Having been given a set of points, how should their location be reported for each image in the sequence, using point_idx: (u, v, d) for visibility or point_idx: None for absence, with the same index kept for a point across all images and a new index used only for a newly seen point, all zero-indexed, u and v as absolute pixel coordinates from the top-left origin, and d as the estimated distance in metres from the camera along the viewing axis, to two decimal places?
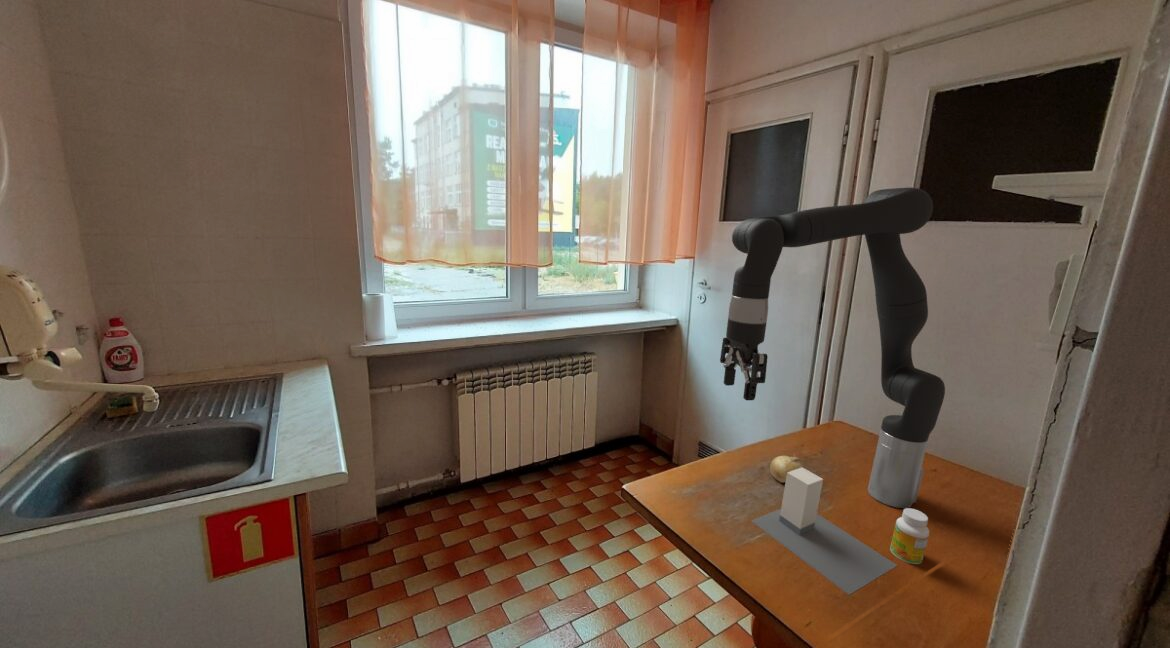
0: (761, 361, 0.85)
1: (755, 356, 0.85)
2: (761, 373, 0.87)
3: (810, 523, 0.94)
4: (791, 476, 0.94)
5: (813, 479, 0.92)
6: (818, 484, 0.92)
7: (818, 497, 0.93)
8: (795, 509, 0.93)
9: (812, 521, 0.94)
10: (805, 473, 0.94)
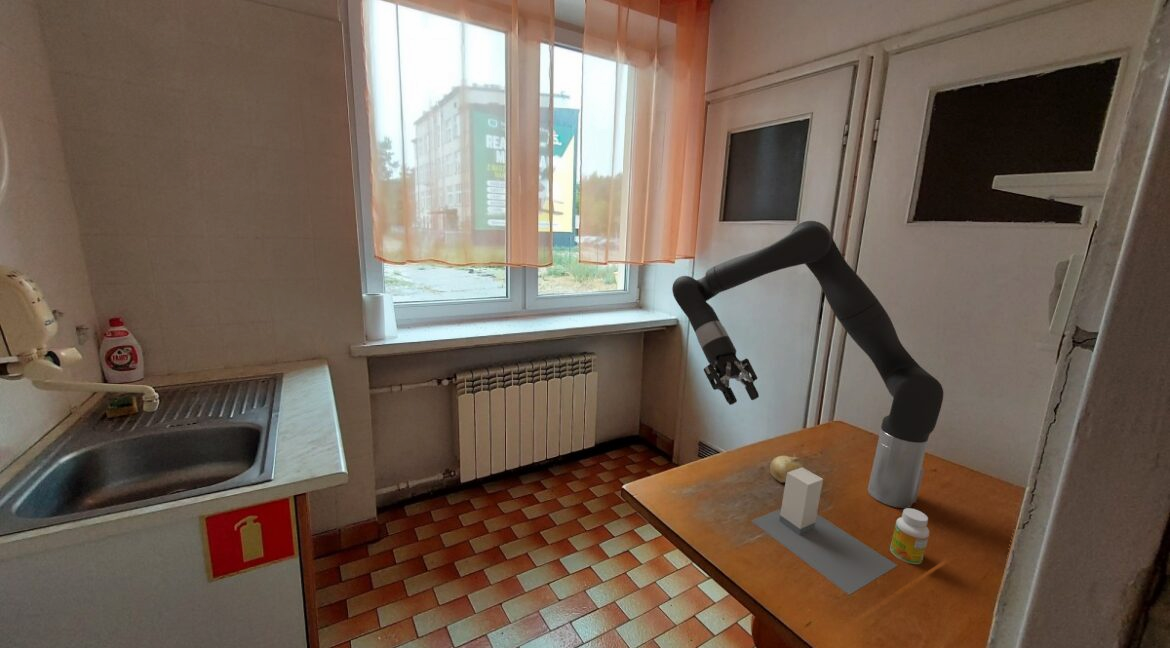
0: (708, 371, 1.07)
1: None
2: None
3: (810, 523, 0.94)
4: (791, 476, 0.94)
5: (813, 479, 0.92)
6: (818, 484, 0.92)
7: (818, 497, 0.93)
8: (795, 509, 0.93)
9: (812, 521, 0.94)
10: (805, 473, 0.94)
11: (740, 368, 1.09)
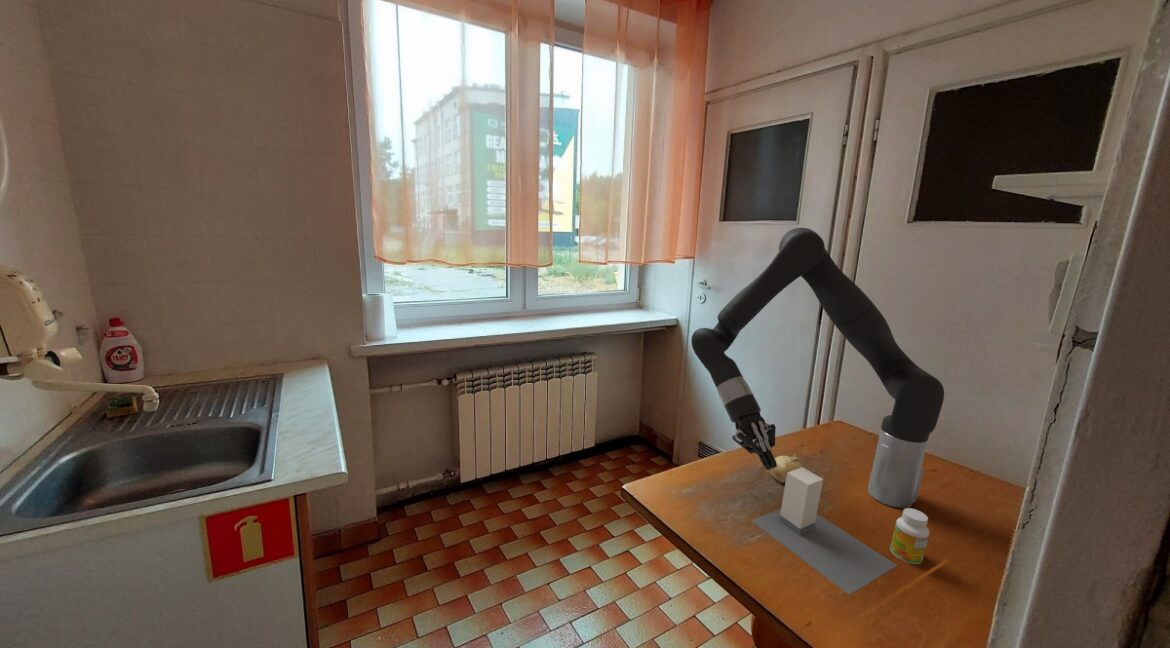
0: (739, 440, 1.02)
1: None
2: None
3: (810, 523, 0.94)
4: (791, 476, 0.94)
5: (813, 479, 0.92)
6: (818, 484, 0.92)
7: (818, 497, 0.93)
8: (795, 509, 0.93)
9: (812, 521, 0.94)
10: (805, 473, 0.94)
11: (762, 430, 1.04)
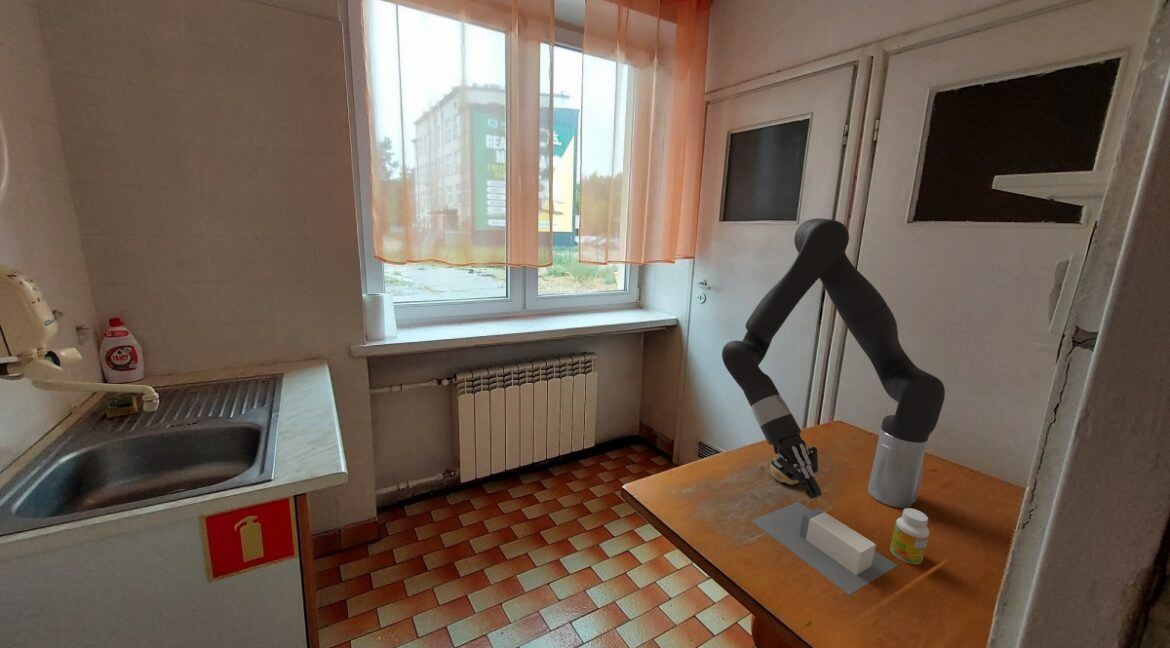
0: (779, 466, 0.92)
1: None
2: None
3: None
4: (858, 556, 0.82)
5: (865, 567, 0.84)
6: None
7: None
8: (822, 542, 0.88)
9: None
10: (869, 555, 0.84)
11: (804, 454, 0.94)
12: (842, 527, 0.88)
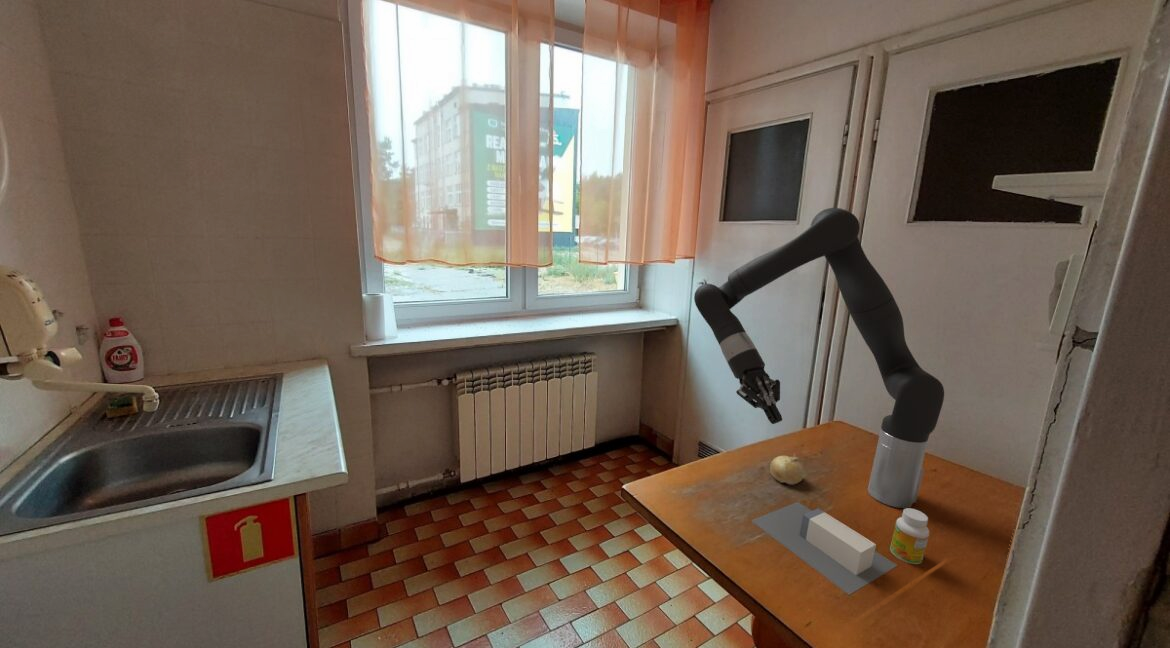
0: (744, 394, 0.99)
1: None
2: None
3: None
4: (858, 556, 0.82)
5: (865, 567, 0.84)
6: None
7: None
8: (822, 542, 0.88)
9: None
10: (869, 555, 0.84)
11: (767, 384, 1.02)
12: (842, 527, 0.88)
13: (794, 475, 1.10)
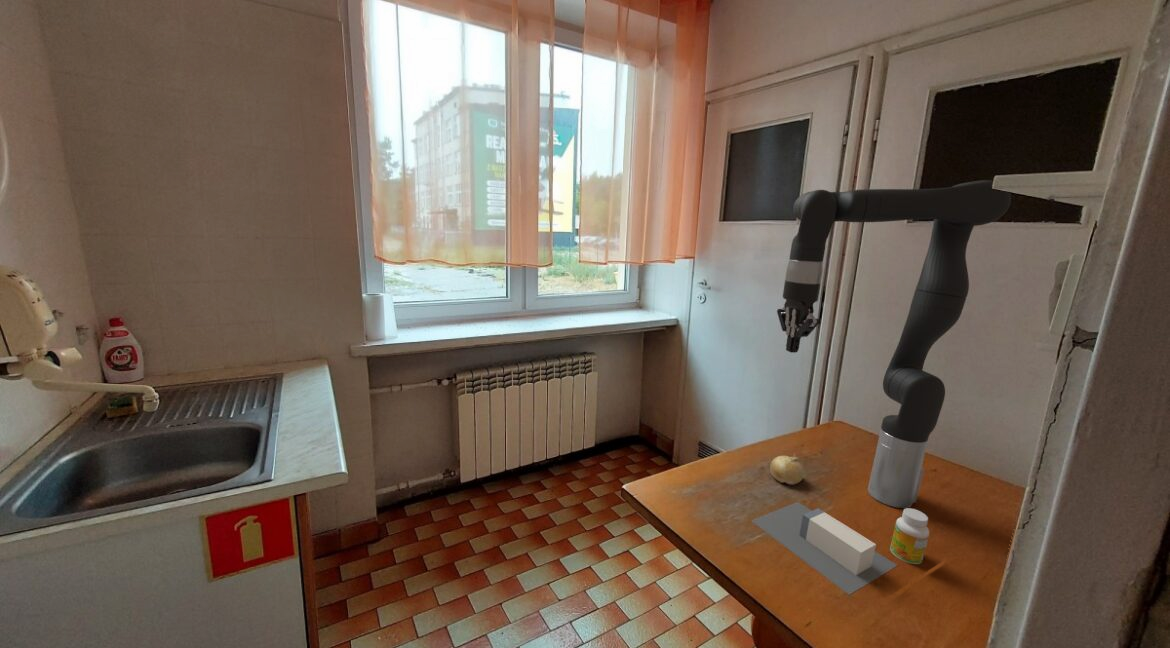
0: (812, 325, 0.99)
1: (809, 321, 0.98)
2: None
3: None
4: (858, 556, 0.82)
5: (865, 567, 0.84)
6: None
7: None
8: (822, 542, 0.88)
9: None
10: (869, 555, 0.84)
11: None
12: (842, 527, 0.88)
13: (794, 475, 1.10)
